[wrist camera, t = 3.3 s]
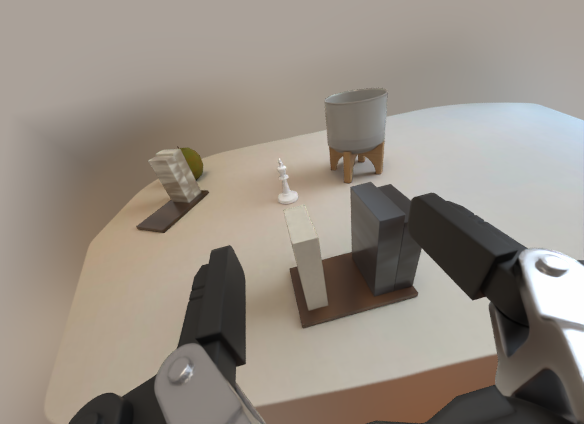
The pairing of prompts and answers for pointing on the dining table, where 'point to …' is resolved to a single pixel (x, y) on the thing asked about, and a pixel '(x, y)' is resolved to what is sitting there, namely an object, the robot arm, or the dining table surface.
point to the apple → (193, 161)
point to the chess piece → (285, 186)
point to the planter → (356, 128)
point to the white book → (307, 256)
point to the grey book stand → (367, 258)
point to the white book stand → (173, 190)
